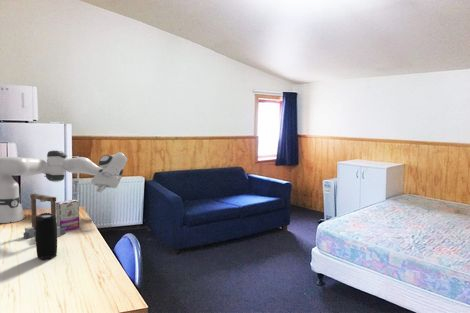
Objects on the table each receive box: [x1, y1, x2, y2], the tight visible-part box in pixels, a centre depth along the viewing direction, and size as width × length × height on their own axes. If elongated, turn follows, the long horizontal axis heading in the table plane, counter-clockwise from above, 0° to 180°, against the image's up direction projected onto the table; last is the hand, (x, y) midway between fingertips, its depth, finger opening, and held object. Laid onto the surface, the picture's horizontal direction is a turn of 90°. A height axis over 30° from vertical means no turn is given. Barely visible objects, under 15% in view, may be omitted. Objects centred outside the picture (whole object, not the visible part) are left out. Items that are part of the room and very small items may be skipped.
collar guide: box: [23, 226, 66, 243], centre depth 192 cm, size 14×16×5 cm
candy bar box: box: [56, 199, 80, 233], centre depth 204 cm, size 11×5×16 cm, turn 143°
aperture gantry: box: [29, 193, 57, 230], centre depth 191 cm, size 18×3×22 cm, turn 62°
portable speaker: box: [35, 212, 58, 261], centre depth 162 cm, size 9×9×20 cm
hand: (98, 191), depth 222 cm, fingers closed
